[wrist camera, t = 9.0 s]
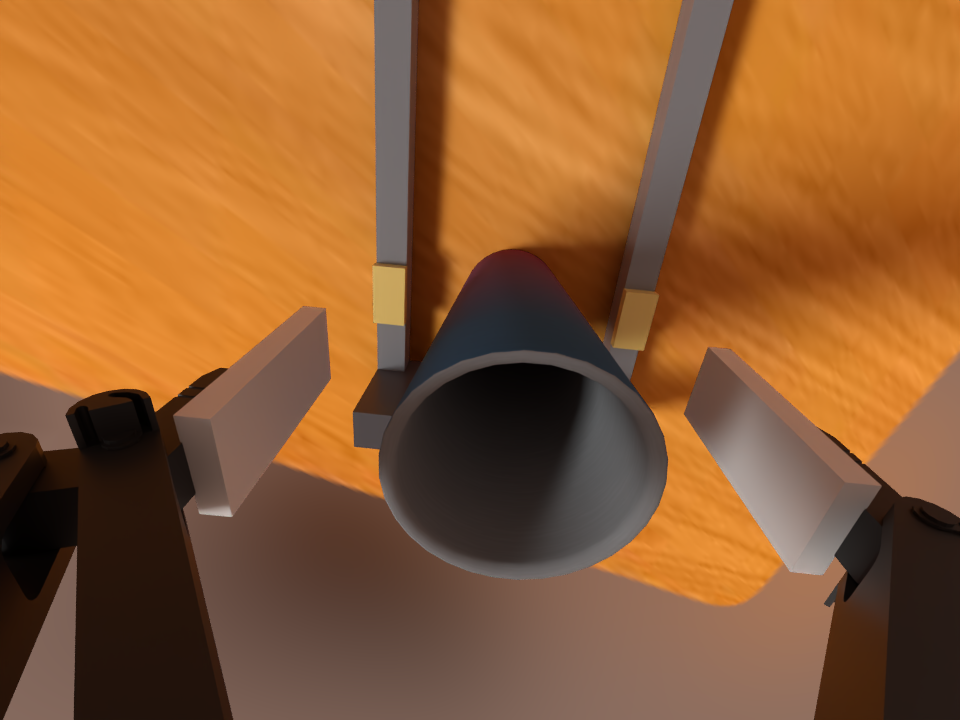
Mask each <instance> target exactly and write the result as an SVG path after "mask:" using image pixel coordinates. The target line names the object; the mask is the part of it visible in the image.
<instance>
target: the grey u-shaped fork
mask: <svg viewBox="0 0 960 720" xmlns="http://www.w3.org/2000/svg"><path fill="white" fill-rule="evenodd" d="M733 2H734V0H683V1H682V6H681V10H680V14H679V18H678V23H677V27H676V31H675V36H674V40H673V44H672V49H671V53H670V57H669V61H668V66H667V70H666V74H665V79H664V83H663V87H662V92H661V96H660V100H659V104H658V109H657V113H656V117H655V122H654V126H653V130H652V135H651V139H650V143H649V148H648V152H647V156H646V160H645V165H644V169H643V173H642V178H641V182H640V186H639V191H638V195H637V199H636V203H635V208H634V212H633V216H632V221H631V225H630V229H629V234H628V238H627V242H626V246H625V251H624V255H623V259H622V264H621V268H620V272H619V277H618V281H617V285H616V289H615V294H614V298H613V302H612V307H611V311H610V315H609V320H608V324H607V328H606V333H605V337H604V341H603V344H604V345H605V347H606V348H607V350H608V351H609V352H610V354H611V355H612V357H613V358H614V359H615V361H616V362H617V364H618V365H619V366H620V368H621V369H622V370H623V372H624V373H625V375H626V376H627V377H628V379H629V380H630V379H631V376H632V372H633V368H634V365H635V361H636V357H637V354H638V350H640V351H644V348H645V345H646V341H647V338H648V334H649V330H650V327H651V323H652V320H653V316H654V312H655V309H656V305H657V302H658V298H659V294H658V293H656V292H654V291H655V288H656V284H657V280H658V277H659V273H660V269H661V266H662V262H663V258H664V255H665V251H666V247H667V244H668V240H669V236H670V233H671V229H672V225H673V222H674V218H675V214H676V211H677V207H678V203H679V200H680V196H681V192H682V189H683V185H684V181H685V178H686V174H687V170H688V167H689V163H690V159H691V156H692V152H693V148H694V145H695V141H696V137H697V134H698V130H699V126H700V123H701V119H702V115H703V112H704V108H705V104H706V101H707V97H708V93H709V90H710V86H711V82H712V79H713V75H714V71H715V68H716V64H717V60H718V57H719V53H720V49H721V46H722V42H723V38H724V35H725V31H726V27H727V24H728V20H729V16H730V13H731V9H732V5H733ZM418 6H419V0H374V23H375V127H376V232H377V263H375V264H374V265H373V323H377V337H378V370H377V371H376V373H375V375H374V377H373V378H372V380H371V382H370V383H369V385H368V387H367V389H366V390H365V392H364V394H363V395H362V397H361V399H360V401H359V402H358V404H357V406H356V407H355V409H354V411H353V428H354V447H362V448H372V449H380V447H381V443H382V438H383V434H384V431H385V429H386V427H387V425H388V423H389V421H390V419H391V417H392V415H393V413H394V411H395V409H396V408H397V406H398V404H399V402H400V400H401V399H402V397H403V395H404V393H405V391H406V389H407V388H408V386H409V384H410V382H411V380H412V379H413V377H414V375H415V373H416V371H417V370H418V368H419V366H420V364H421V362H420V361H410V323H411V283H412V244H413V204H414V164H415V125H416V85H417V46H418Z"/></svg>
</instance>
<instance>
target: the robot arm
mask: <svg viewBox="0 0 960 720" xmlns="http://www.w3.org/2000/svg"><path fill="white" fill-rule="evenodd" d="M330 379H331V375H330V361H329V347H328V333H327V319H326V308H317V307H307V306H303V307H302V308H300V309H299V310H298V311H297V312H296V313H295V314H293V315H292V316H291V317H290V318H289V319H287V320H286V321H285V322H284V323H283V324H281V325H280V326H279V327H278V328H277V329H275V330H274V331H273V332H272V333H271V334H269V335H268V336H267V337H266V338H265V339H264V340H262V341H261V342H260V343H259V344H258V345H256V346H255V347H254V348H253V349H252V350H250V351H249V352H248V353H247V354H246V355H244V356H243V357H242V358H241V359H240V360H238V361H237V362H236V363H235V364H234V365H232V366H231V367H230V368H229V369H227V368H219V369H217V370H214V371H212V372H210V373H207V374H205V375H203V376H201V377H200V378H199V379H197V380H196V381H195V382H193V383H192V384H191V385H190V386H189V388H186V389H185V390H183V391H182V392H181V393H180V394H178V397H174V398H173V399H172V400H171V401H169V402H168V403H167V404H166V405H164V406H163V407H162V408H160V409H159V410H158V411H157V412H155V411H154V408H153V404H152V401H151V398H150V396H149V395H148V394H147V393H146V392H144V391H141V390H137V389H119V390H112V391H106V392H103V393H99V394H95V395H92V396H90V397H88V398H85V399H83V400H81V401H79V402H77V403H76V404H75V405H73V406H72V407H70V408H69V410H68V412H67V413H66V418H67V421H68V423H69V426H70V428H71V431H72V433H73V436H74V438H75V440H76V443H77V445H78V448H73V449H64V450H53V451H43V450H42V448H41V446H40V443H39V441H38V439H37V438H36V437H35V436H34V435H33V434H29V433H23V432H15V433H3V434H0V720H3V718H4V716H5V713H6V711H7V708H8V706H9V704H10V701H11V699H12V697H13V694H14V692H15V690H16V687H17V685H18V682H19V680H20V678H21V675H22V673H23V671H24V668H25V666H26V663H27V661H28V659H29V656H30V654H31V652H32V649H33V647H34V645H35V642H36V639H37V637H38V635H39V633H40V630H41V628H42V625H43V623H44V621H45V618H46V616H47V613H48V611H49V609H50V606H51V604H52V602H53V599H54V597H55V594H56V592H57V589H58V587H59V585H60V583H61V580H62V578H63V576H64V573H65V571H66V568H67V566H68V564H69V561H70V559H71V557H72V554H73V552H74V549H75V547H76V546H77V587H76V590H77V591H76V636H75V683H74V687H75V688H74V720H233V716H232V712H231V708H230V703H229V700H228V695H227V691H226V686H225V682H224V678H223V674H222V670H221V666H220V661H219V657H218V653H217V648H216V644H215V640H214V636H213V631H212V627H211V623H210V619H209V615H208V610H207V606H206V603H205V598H204V594H203V589H202V585H201V581H200V576H199V572H198V568H197V564H196V560H195V555H194V551H193V547H192V543H191V539H190V534H189V530H188V526H187V521H186V517H185V514H184V511H183V507H184V506H185V505H186V504H187V503H188V502H189V500H190V499H191V498H192V497H193V496H194V495H195V499H196V503H197V506H198V510H199V513H200V514H208V515H217V516H228V517H232V516H233V515H234V514H235V512H236V511H237V510H238V508H239V507H240V505H241V504H242V502H243V501H244V500H245V498H246V497H247V495H248V494H249V493H250V491H251V490H252V488H253V487H254V486H255V484H256V483H257V482H258V480H259V479H260V477H261V476H262V475H263V473H264V472H265V470H266V469H267V468H268V466H269V465H270V463H271V462H272V460H273V459H274V458H275V456H276V455H277V453H278V452H279V451H280V449H281V448H282V446H283V445H284V444H285V442H286V441H287V439H288V438H289V437H290V435H291V434H292V432H293V431H294V430H295V428H296V427H297V425H298V424H299V423H300V421H301V420H302V418H303V417H304V416H305V414H306V413H307V411H308V410H309V409H310V407H311V406H312V404H313V403H314V402H315V400H316V399H317V397H318V396H319V395H320V393H321V392H322V390H323V389H324V388H325V386H326V385H327V383H328V382H329V381H330ZM684 415H685V416H686V418H687V419H688V421H689V422H690V424H691V425H692V427H693V428H694V430H695V431H696V433H697V434H698V436H699V437H700V439H701V440H702V442H703V443H704V445H705V446H706V448H707V449H708V451H709V452H710V453H711V455H712V456H713V458H714V459H715V461H716V462H717V464H718V465H719V467H720V468H721V470H722V471H723V473H724V474H725V476H726V477H727V479H728V480H729V482H730V483H731V485H732V486H733V488H734V489H735V491H736V492H737V494H738V495H739V497H740V498H741V500H742V501H743V503H744V504H745V505H746V507H747V508H748V510H749V511H750V513H751V514H752V516H753V517H754V519H755V520H756V522H757V523H758V525H759V526H760V528H761V529H762V531H763V532H764V534H765V535H766V537H767V538H768V540H769V541H770V543H771V544H772V546H773V547H774V549H775V550H776V552H777V553H778V555H779V556H780V557H781V559H782V560H783V562H784V563H785V565H786V566H787V568H788V569H789V571H790V572H795V573H805V574H815V575H823V574H824V572H825V571H826V569H827V568H828V566H829V565H830V563H831V562H832V560H833V559H834V557H836V558H837V559H838V560H839V562H840V563H841V564H842V565H843V567H844V568H845V569H846V570H847V571H846V573H845V574H844V576H843V577H842V578H841V580H840V581H839V583H838V584H837V586H836V587H835V588H834V590H833V591H832V593H831V594H830V596H829V597H828V599H827V600H826V601H825V603H824V604H825V605H826V606H828V607H830V606H831V605H832V603H833V602H835V606H834V611H833V617H832V623H831V628H830V634H829V639H828V644H827V650H826V656H825V661H824V667H823V672H822V678H821V683H820V689H819V694H818V700H817V705H816V711H815V716H814V720H960V518H959V517H957V516H956V515H954V514H952V513H951V512H949V511H947V510H945V509H943V508H941V507H939V506H937V505H935V504H933V503H929V502H926V501H924V500H921V499H918V498H912V497H901V496H900V495H899V494H898V493H897V492H896V491H895V490H893V489H892V488H891V487H890V486H889V485H888V484H887V483H886V482H884V481H883V480H882V479H881V478H880V477H879V476H878V475H877V474H876V473H874V472H873V471H872V470H871V469H870V468H869V467H868V466H866V465H865V464H862V461H861V460H860V459H859V458H857V457H856V456H855V455H854V454H853V453H850V450H848V449H847V448H846V447H845V446H844V445H843V444H842V443H841V442H839V441H838V440H837V439H836V438H835V437H833V436H831V435H830V434H828V433H826V432H825V431H823V430H821V429H820V428H818V427H816V426H815V425H814V424H813V423H812V422H811V421H809V420H808V419H807V418H806V417H805V416H804V415H803V414H802V413H801V412H800V411H798V410H797V409H796V408H795V407H794V406H793V405H792V404H791V403H790V402H788V401H787V400H786V399H785V398H784V397H783V396H782V395H781V394H780V393H778V392H777V391H776V390H775V389H774V388H773V387H772V386H771V385H770V384H769V383H767V382H766V381H765V380H764V379H763V378H762V377H761V376H760V375H759V374H757V373H756V372H755V371H754V370H753V369H752V368H751V367H750V366H749V365H747V364H746V363H745V362H744V361H743V360H742V359H741V358H740V357H739V356H738V355H736V354H735V353H734V352H733V351H732V350H731V349H724V348H715V347H708V349H707V352H706V354H705V357H704V360H703V363H702V365H701V368H700V371H699V374H698V377H697V379H696V382H695V385H694V388H693V390H692V393H691V396H690V399H689V401H688V404H687V407H686V410H685V413H684Z"/></svg>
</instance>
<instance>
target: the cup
mask: <svg viewBox="0 0 960 720" xmlns="http://www.w3.org/2000/svg"><path fill="white" fill-rule="evenodd" d="M667 467H668V456H667V451H666V445H665V440H664V435H663V433H662V431H661V429H660V427H659V424H658V422H657V420H656V418H655V416H654V414H653V412H652V411H651V409H650V408H649V407H648V405H647V404H646V402H645V401H644V400H643V398H642V397H641V395H640V394H639V393H638V391H637V390H636V389H635V387H634V386H633V384H632V383H631V382H630V380H629V379H628V377H627V376H626V375H625V373H624V372H623V370H622V369H621V368H620V366H619V365H618V364H617V362H616V361H615V359H614V358H613V357H612V355H611V354H610V352H609V351H608V350H607V348H606V347H605V345H604V344H603V343H602V341H601V340H600V338H599V337H598V336H597V334H596V333H595V332H594V330H593V329H592V327H591V326H590V325H589V323H588V322H587V320H586V319H585V318H584V316H583V315H582V313H581V312H580V311H579V309H578V308H577V307H576V305H575V304H574V302H573V301H572V300H571V298H570V297H569V295H568V294H567V293H566V291H565V290H564V288H563V287H562V286H561V284H560V283H559V282H558V280H557V279H556V277H555V276H554V275H553V273H552V272H551V270H550V269H549V268H548V267H547V265H546V264H545V263H544V262H543V261H542V260H540V259H539V258H538V257H536V256H534V255H533V254H531V253H528V252H525V251H521V250H512V249H511V250H502V251H499V252H495V253H493V254H491V255H489V256H487V257H485V258H484V259H483V260H481V261H480V262H479V263H478V264H477V265H476V266H475V268H474V269H473V270H472V272H471V274H470V275H469V277H468V279H467V281H466V283H465V284H464V286H463V288H462V290H461V292H460V293H459V295H458V297H457V299H456V301H455V303H454V304H453V306H452V308H451V310H450V312H449V313H448V315H447V317H446V319H445V321H444V322H443V324H442V326H441V328H440V330H439V332H438V333H437V335H436V337H435V339H434V341H433V342H432V344H431V346H430V348H429V350H428V351H427V353H426V355H425V357H424V359H423V361H422V362H421V364H420V366H419V368H418V370H417V371H416V373H415V375H414V377H413V379H412V380H411V382H410V384H409V386H408V388H407V389H406V391H405V393H404V395H403V397H402V399H401V400H400V402H399V404H398V406H397V408H396V409H395V411H394V413H393V415H392V417H391V419H390V421H389V423H388V425H387V427H386V429H385V431H384V434H383V438H382V443H381V447H380V451H379V479H380V482H381V486H382V490H383V493H384V497H385V500H386V502H387V504H388V505H389V507H390V510H391V511H392V513H393V515H394V517H395V519H396V520H397V521H398V522H399V524H400V525H401V526H402V527H403V529H404V530H405V531H406V532H407V533H408V535H409V536H410V537H411V538H413V539H414V540H415V541H416V542H417V543H419V544H420V545H421V546H422V547H423V548H424V549H426V550H427V551H428V552H430V553H432V554H433V555H435V556H437V557H439V558H440V559H442V560H444V561H445V562H447V563H449V564H452V565H454V566H457V567H459V568H462V569H465V570H467V571H470V572H474V573H478V574H482V575H486V576H490V577H496V578H507V579H517V580H520V579H543V578H549V577H554V576H560V575H566V574H569V573H572V572H575V571H578V570H582V569H584V568H588V567H590V566H592V565H594V564H596V563H598V562H600V561H602V560H604V559H606V558H608V557H610V556H612V555H613V554H615V553H616V552H617V551H619V550H620V549H622V548H623V547H624V546H626V545H627V544H628V543H630V542H631V541H632V540H633V539H634V538H635V537H636V536H637V535H638V533H639V532H640V531H641V530H642V529H643V528H644V527H645V526H646V525H647V523H648V522H649V520H650V519H651V517H652V515H653V514H654V512H655V511H656V509H657V507H658V506H659V503H660V500H661V497H662V494H663V491H664V488H665V485H666V479H667Z"/></svg>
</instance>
